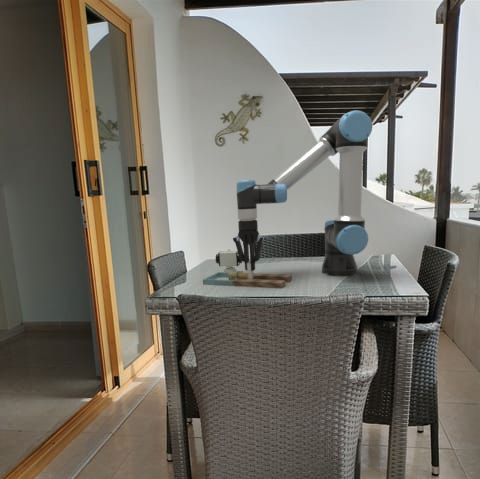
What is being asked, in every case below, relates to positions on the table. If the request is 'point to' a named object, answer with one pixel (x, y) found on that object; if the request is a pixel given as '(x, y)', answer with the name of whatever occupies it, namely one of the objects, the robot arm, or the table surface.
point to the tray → (211, 280)
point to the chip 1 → (233, 275)
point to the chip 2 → (243, 275)
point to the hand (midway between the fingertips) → (250, 278)
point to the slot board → (264, 281)
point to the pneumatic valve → (228, 260)
